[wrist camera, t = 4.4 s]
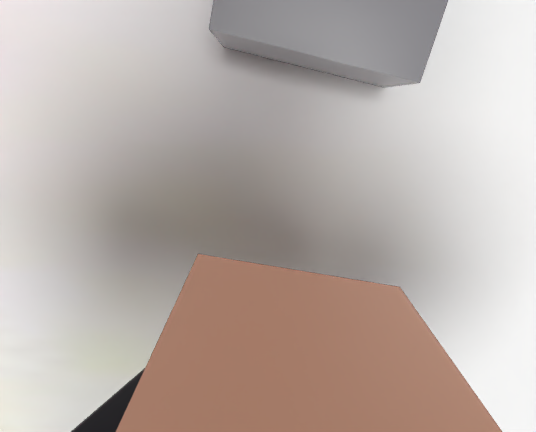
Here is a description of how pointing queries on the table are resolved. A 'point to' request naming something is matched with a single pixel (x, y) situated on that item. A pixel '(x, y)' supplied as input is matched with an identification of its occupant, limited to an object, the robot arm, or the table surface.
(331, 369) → the terracotta block
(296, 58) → the gray box
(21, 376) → the table surface
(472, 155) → the table surface
